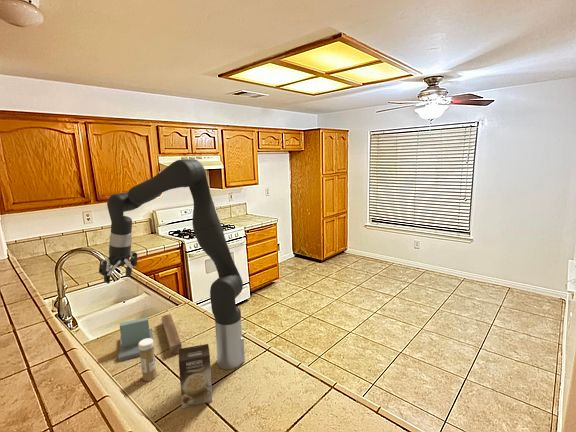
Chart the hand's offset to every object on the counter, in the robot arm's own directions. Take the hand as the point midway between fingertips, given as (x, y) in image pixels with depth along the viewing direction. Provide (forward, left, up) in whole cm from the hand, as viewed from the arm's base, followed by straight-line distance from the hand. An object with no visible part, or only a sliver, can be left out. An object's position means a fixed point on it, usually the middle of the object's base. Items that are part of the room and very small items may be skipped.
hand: (118, 279), depth 120 cm
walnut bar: (-17, +8, -27) cm, 33 cm away
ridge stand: (-4, +8, -26) cm, 28 cm away
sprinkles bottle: (-8, +30, -26) cm, 41 cm away
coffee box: (-21, +47, -26) cm, 58 cm away
